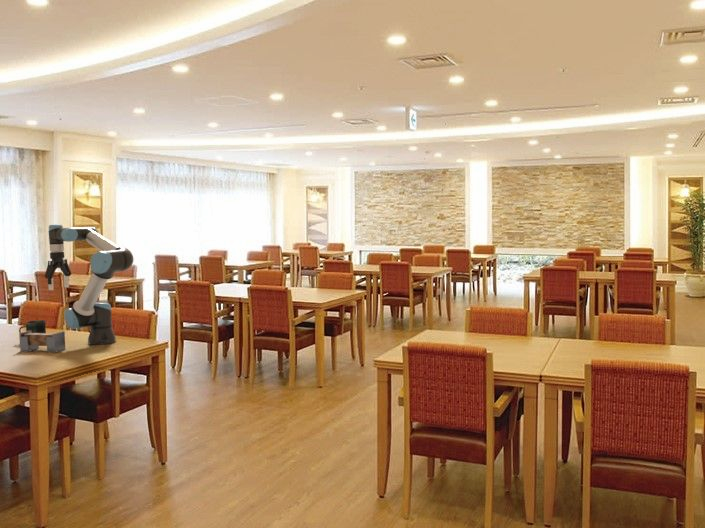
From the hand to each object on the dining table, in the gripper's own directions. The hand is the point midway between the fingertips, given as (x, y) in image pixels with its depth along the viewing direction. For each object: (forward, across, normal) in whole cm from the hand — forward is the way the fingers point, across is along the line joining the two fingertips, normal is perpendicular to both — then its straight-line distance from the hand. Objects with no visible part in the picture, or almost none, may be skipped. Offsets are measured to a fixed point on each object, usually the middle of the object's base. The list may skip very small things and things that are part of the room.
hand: (59, 288), depth 397 cm
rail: (+29, +19, +1) cm, 35 cm away
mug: (+32, -1, -20) cm, 38 cm away
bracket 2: (+32, +19, +10) cm, 38 cm away
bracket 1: (+32, +19, -6) cm, 37 cm away
